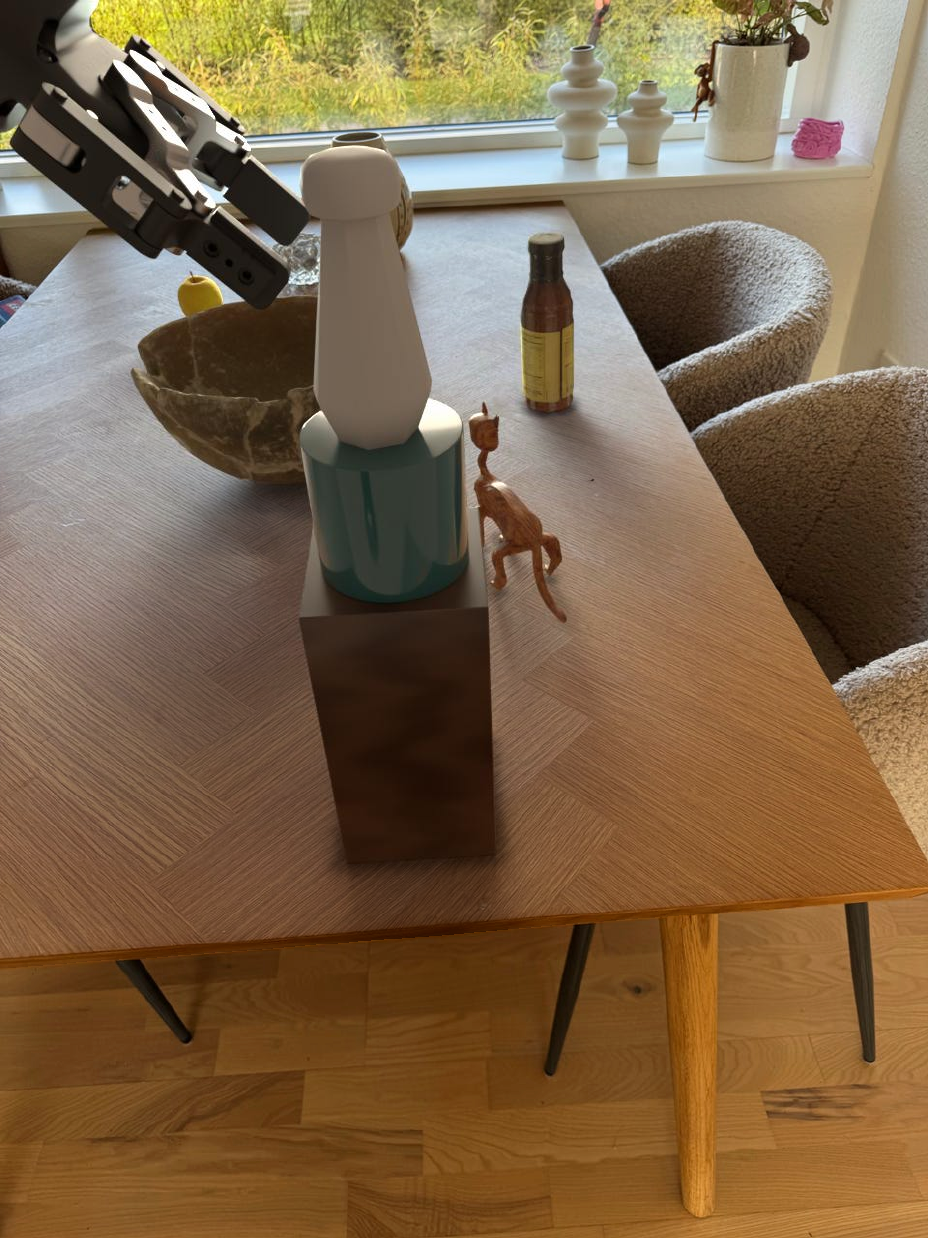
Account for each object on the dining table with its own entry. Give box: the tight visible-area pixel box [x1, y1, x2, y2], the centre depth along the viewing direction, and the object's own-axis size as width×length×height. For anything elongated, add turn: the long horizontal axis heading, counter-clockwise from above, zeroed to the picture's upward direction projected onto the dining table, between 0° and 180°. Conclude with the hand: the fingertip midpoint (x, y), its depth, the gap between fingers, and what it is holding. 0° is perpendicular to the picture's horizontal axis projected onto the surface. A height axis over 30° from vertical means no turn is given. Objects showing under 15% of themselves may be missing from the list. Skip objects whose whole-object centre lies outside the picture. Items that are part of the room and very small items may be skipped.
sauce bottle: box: [519, 231, 575, 414], centre depth 107 cm, size 6×6×20 cm
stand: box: [297, 506, 497, 864], centre depth 59 cm, size 10×10×21 cm
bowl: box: [130, 294, 321, 485], centre depth 99 cm, size 28×27×15 cm
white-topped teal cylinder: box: [299, 397, 469, 603], centre depth 51 cm, size 11×8×8 cm
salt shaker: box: [299, 145, 433, 450], centre depth 43 cm, size 6×6×13 cm
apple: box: [176, 270, 224, 317], centre depth 135 cm, size 6×6×8 cm
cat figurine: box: [468, 401, 568, 623], centre depth 81 cm, size 18×7×14 cm, turn 24°
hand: (291, 258), depth 42 cm, fingers open, 8 cm apart
